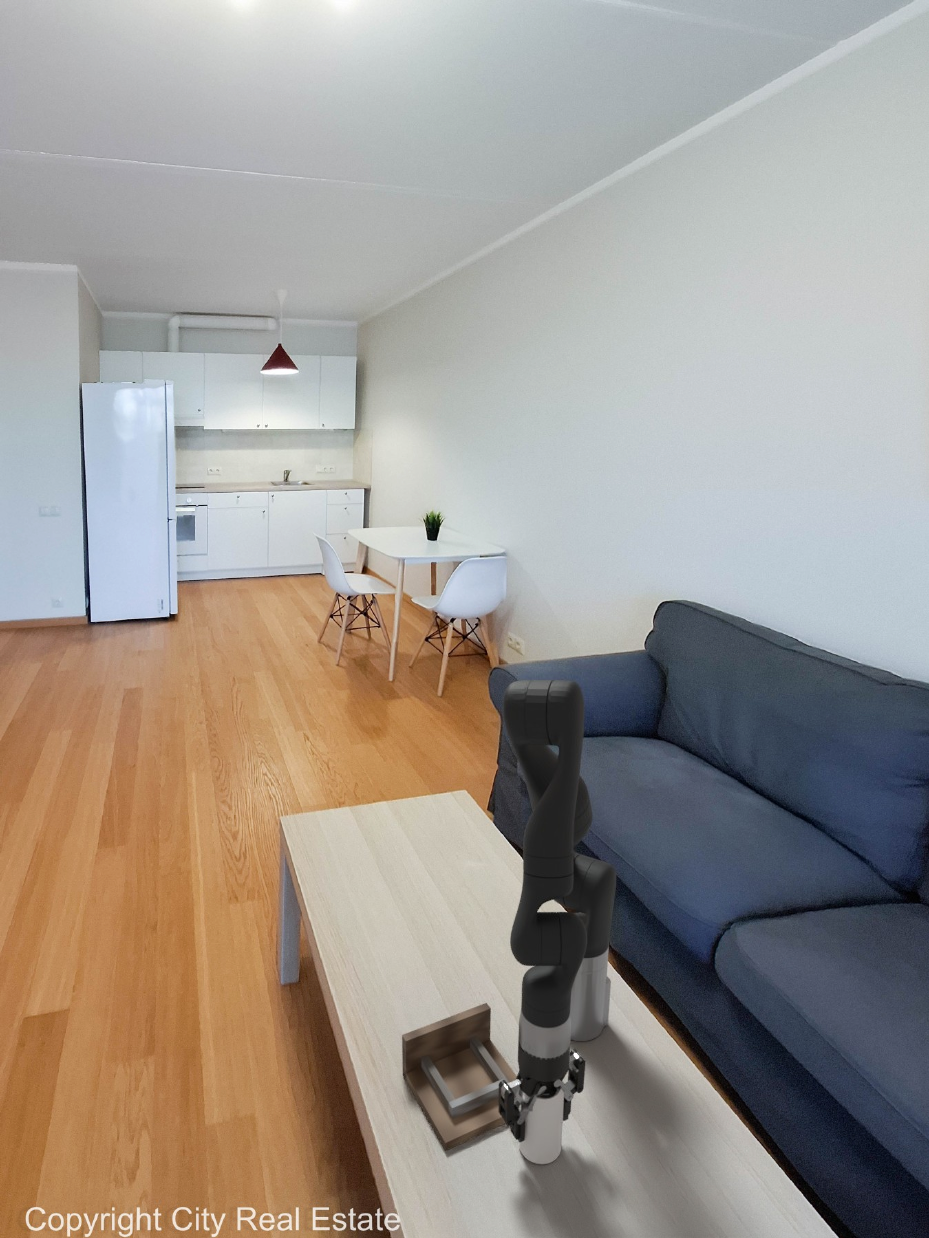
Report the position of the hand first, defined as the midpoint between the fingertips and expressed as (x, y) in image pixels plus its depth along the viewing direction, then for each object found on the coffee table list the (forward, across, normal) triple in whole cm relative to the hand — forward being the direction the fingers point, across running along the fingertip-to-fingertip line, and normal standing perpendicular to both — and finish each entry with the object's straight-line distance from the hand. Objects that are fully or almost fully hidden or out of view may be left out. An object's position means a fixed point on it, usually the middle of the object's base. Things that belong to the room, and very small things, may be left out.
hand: (540, 1126), depth 121 cm
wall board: (+4, +5, -14) cm, 15 cm away
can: (+4, 0, 0) cm, 4 cm away
